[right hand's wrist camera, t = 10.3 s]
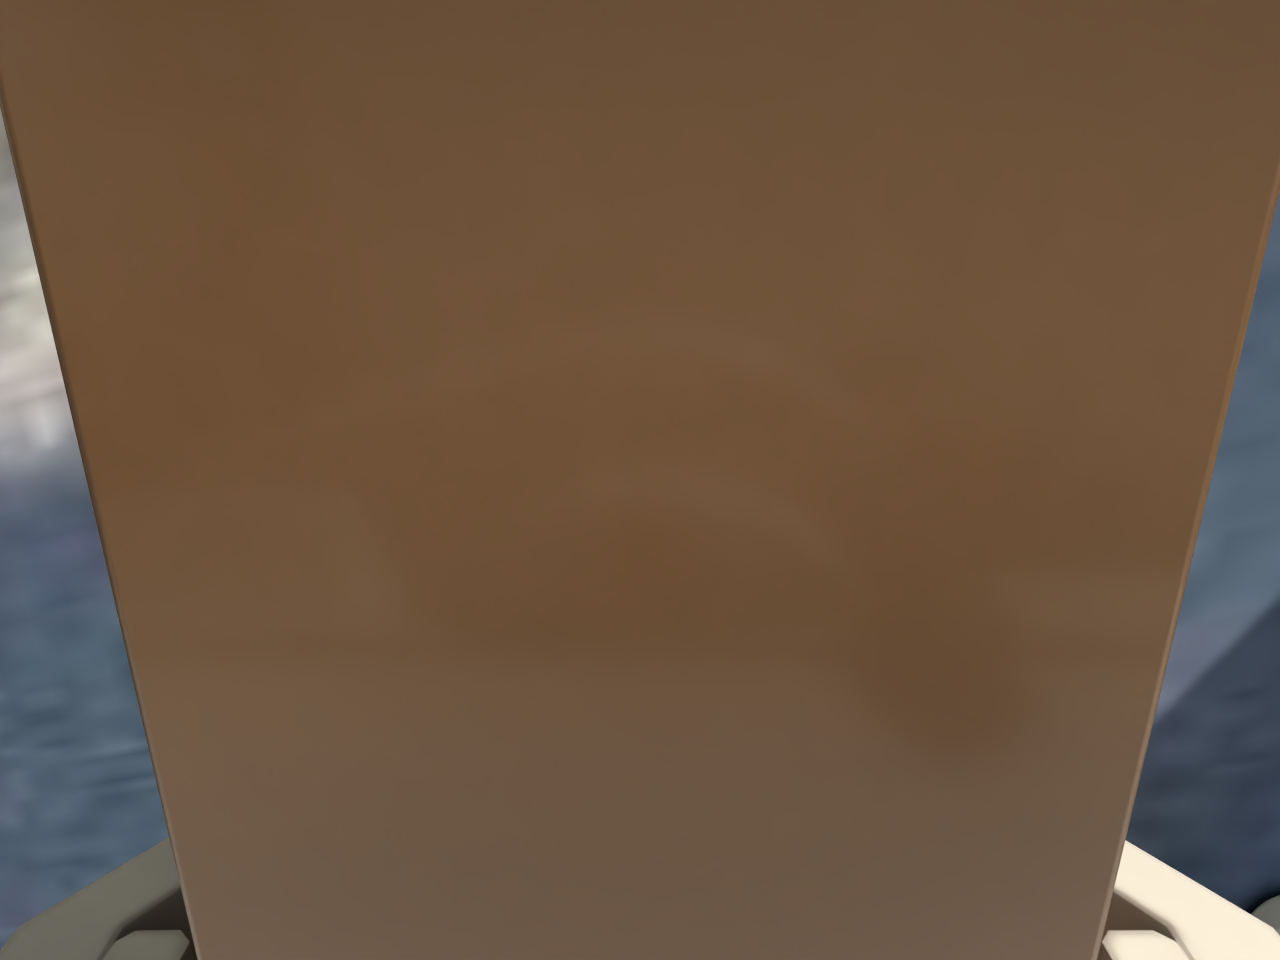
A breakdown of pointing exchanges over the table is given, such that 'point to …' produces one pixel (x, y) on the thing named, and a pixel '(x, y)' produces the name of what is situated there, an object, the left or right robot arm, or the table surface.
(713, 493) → the bar
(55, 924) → the right robot arm
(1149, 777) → the table surface
